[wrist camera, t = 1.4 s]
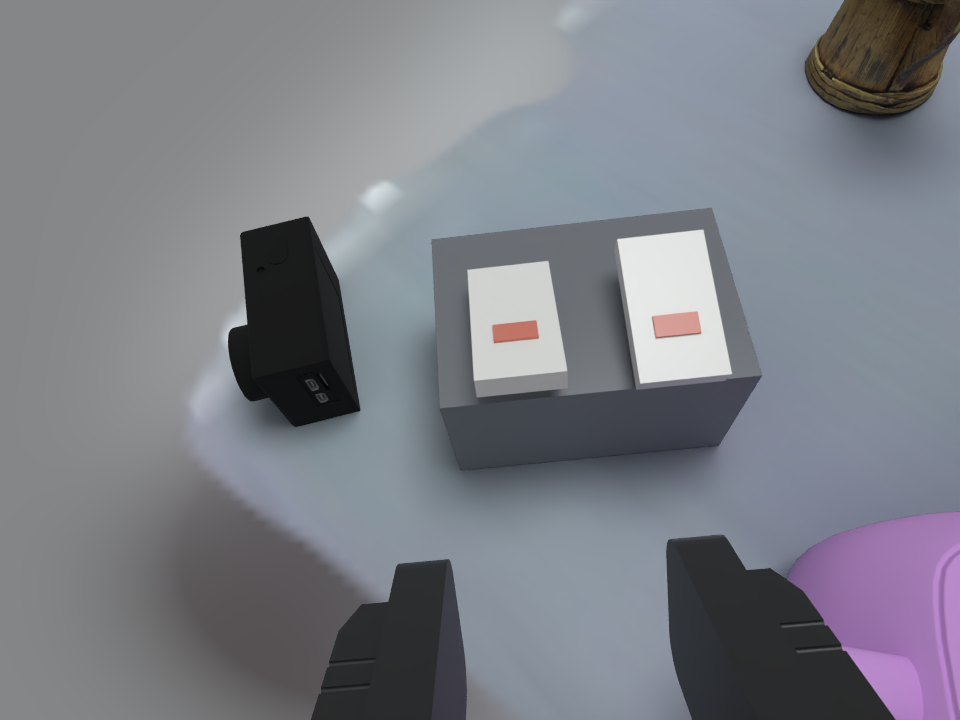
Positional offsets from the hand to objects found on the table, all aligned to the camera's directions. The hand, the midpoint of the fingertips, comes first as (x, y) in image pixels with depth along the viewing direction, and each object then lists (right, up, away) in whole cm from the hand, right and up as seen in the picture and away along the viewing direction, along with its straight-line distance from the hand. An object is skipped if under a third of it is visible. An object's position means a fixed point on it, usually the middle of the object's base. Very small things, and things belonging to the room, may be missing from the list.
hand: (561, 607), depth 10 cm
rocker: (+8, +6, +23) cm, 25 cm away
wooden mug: (+28, +23, +41) cm, 55 cm away
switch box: (+5, +2, +32) cm, 33 cm away
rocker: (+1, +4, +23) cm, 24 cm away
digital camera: (-12, +4, +35) cm, 38 cm away
